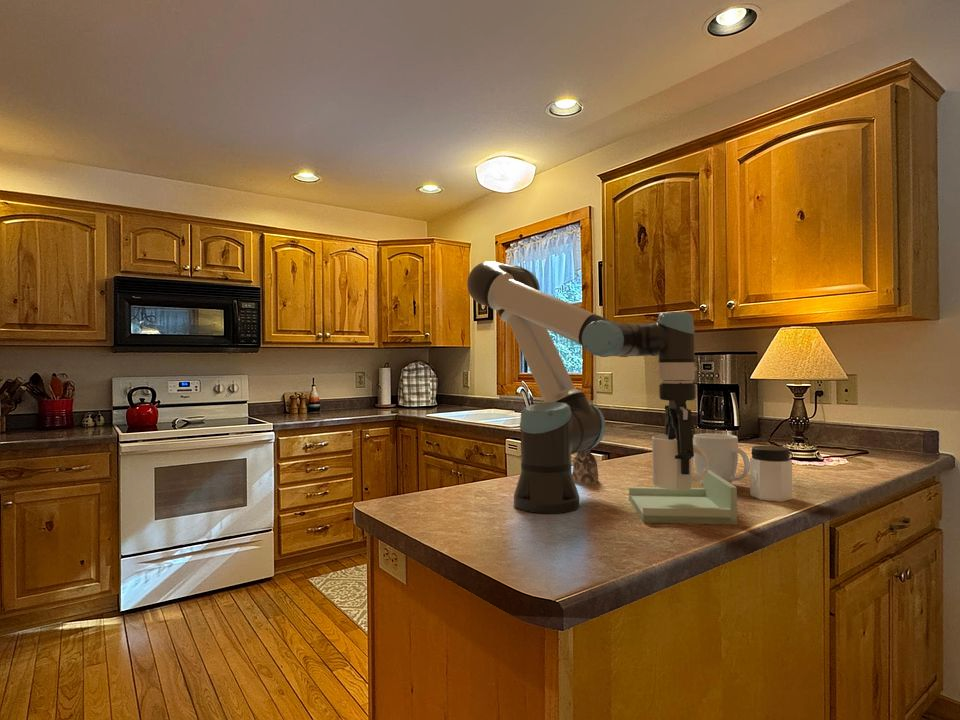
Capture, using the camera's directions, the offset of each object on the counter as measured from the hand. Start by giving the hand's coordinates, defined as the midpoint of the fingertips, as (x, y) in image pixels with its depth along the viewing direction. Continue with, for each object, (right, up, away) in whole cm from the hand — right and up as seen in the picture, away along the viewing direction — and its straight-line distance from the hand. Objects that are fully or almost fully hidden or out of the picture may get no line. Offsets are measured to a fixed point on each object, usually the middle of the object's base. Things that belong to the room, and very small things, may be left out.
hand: (678, 484), depth 124 cm
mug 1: (0, 0, -1) cm, 1 cm away
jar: (+26, -6, +11) cm, 29 cm away
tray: (0, -6, 0) cm, 6 cm away
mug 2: (+20, -6, +25) cm, 33 cm away
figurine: (-15, -6, +32) cm, 36 cm away
